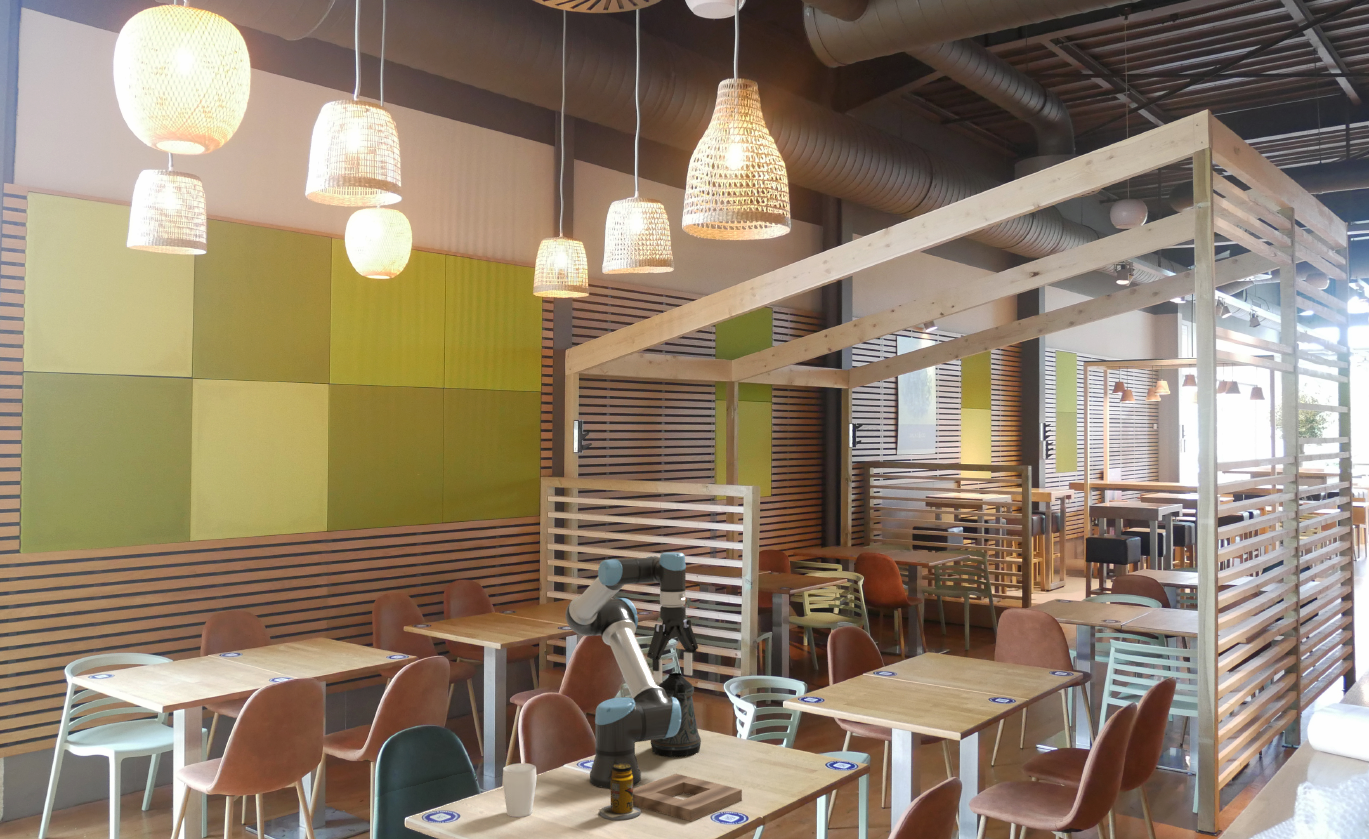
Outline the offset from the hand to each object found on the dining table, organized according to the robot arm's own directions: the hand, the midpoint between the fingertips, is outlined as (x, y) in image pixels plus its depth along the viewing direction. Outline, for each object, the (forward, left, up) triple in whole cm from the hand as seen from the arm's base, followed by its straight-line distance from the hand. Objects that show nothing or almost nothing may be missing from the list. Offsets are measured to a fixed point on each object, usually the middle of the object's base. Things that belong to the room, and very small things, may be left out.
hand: (673, 678), depth 300 cm
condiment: (+5, -29, -30) cm, 42 cm away
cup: (-16, -45, -31) cm, 57 cm away
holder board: (+12, -10, -31) cm, 34 cm away
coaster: (+5, -28, -31) cm, 42 cm away
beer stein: (-22, +28, -31) cm, 47 cm away
